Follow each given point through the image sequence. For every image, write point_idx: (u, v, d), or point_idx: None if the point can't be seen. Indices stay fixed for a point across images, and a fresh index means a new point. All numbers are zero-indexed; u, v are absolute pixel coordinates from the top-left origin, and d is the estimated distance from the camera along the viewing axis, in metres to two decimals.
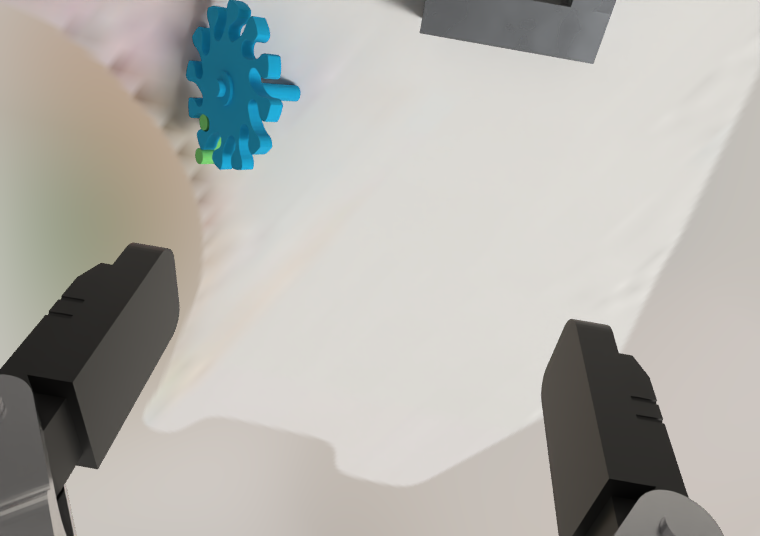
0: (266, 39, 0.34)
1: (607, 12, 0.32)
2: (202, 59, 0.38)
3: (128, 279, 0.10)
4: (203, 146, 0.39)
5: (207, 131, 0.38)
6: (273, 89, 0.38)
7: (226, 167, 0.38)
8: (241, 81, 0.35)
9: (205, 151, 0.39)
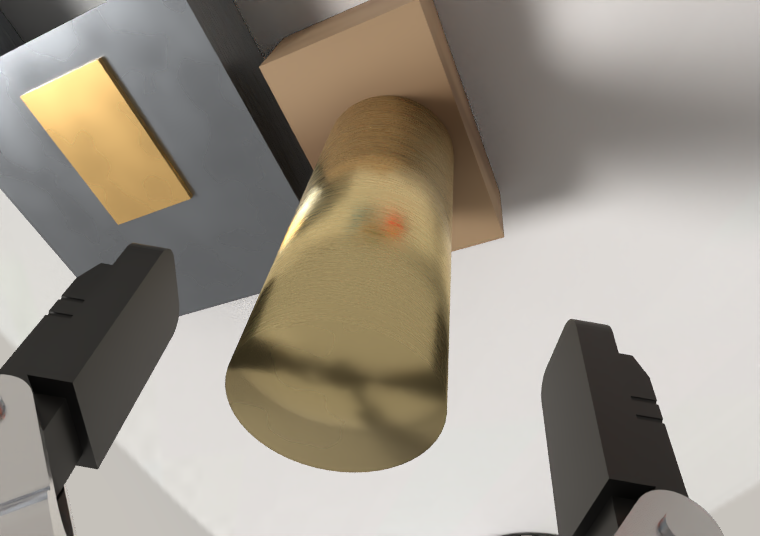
0: None
1: None
2: None
3: (128, 279, 0.10)
4: None
5: None
6: None
7: None
8: None
9: None
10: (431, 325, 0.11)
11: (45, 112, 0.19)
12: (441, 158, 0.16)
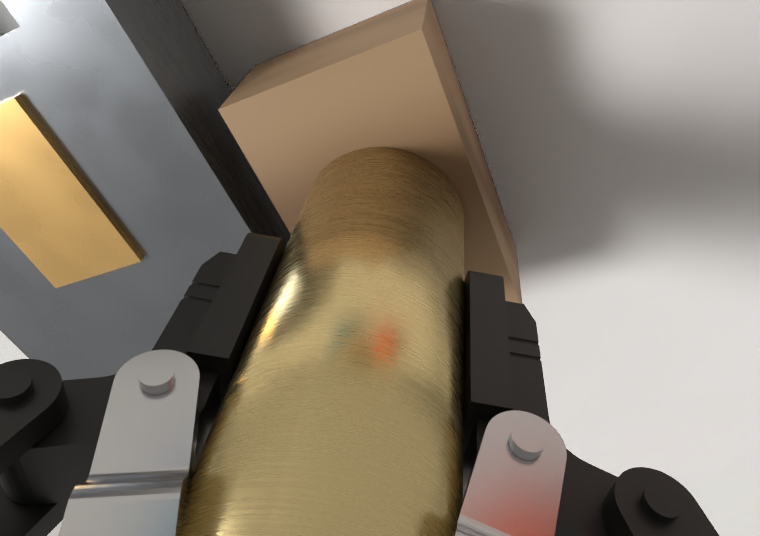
0: None
1: None
2: None
3: (255, 266, 0.11)
4: None
5: None
6: None
7: None
8: None
9: None
10: None
11: None
12: (450, 236, 0.12)
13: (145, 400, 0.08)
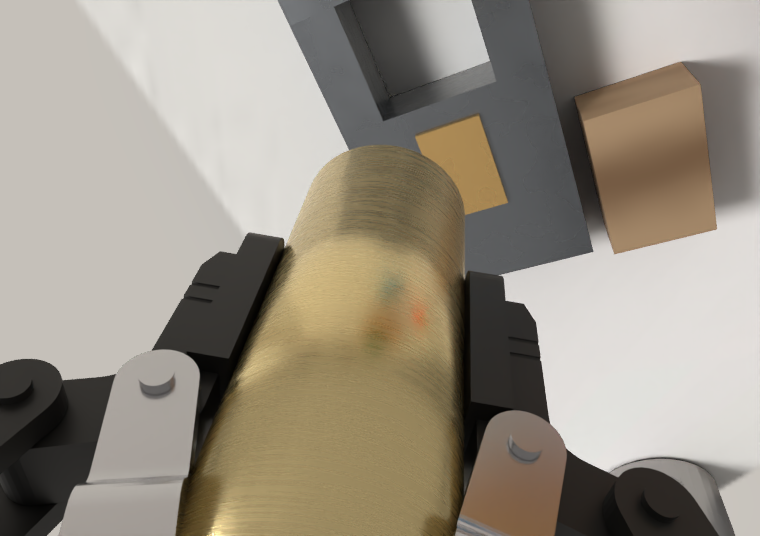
0: None
1: (294, 25, 0.27)
2: None
3: (255, 266, 0.11)
4: None
5: None
6: None
7: None
8: None
9: None
10: None
11: (428, 146, 0.29)
12: (450, 234, 0.12)
13: (145, 400, 0.08)
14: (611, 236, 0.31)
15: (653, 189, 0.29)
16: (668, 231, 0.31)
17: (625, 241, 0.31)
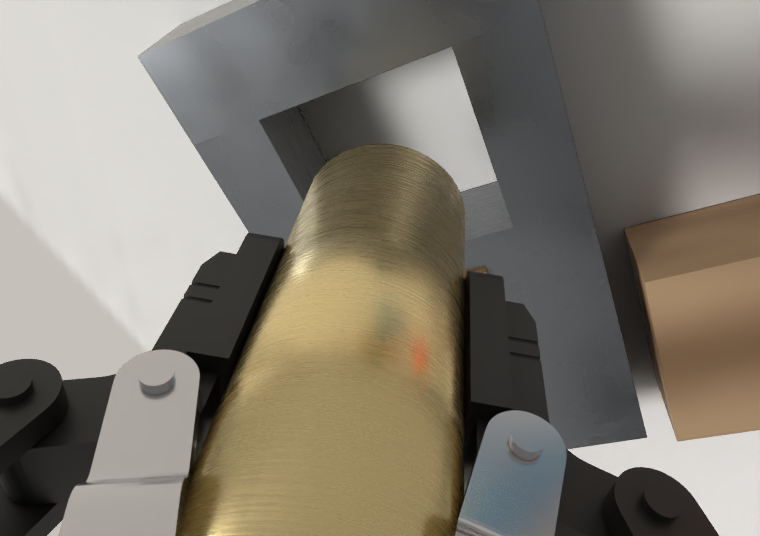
0: None
1: (201, 144, 0.17)
2: None
3: (255, 266, 0.11)
4: None
5: None
6: None
7: None
8: None
9: None
10: None
11: None
12: (451, 234, 0.12)
13: (145, 400, 0.08)
14: (674, 421, 0.22)
15: (742, 369, 0.20)
16: (759, 419, 0.21)
17: (694, 428, 0.22)
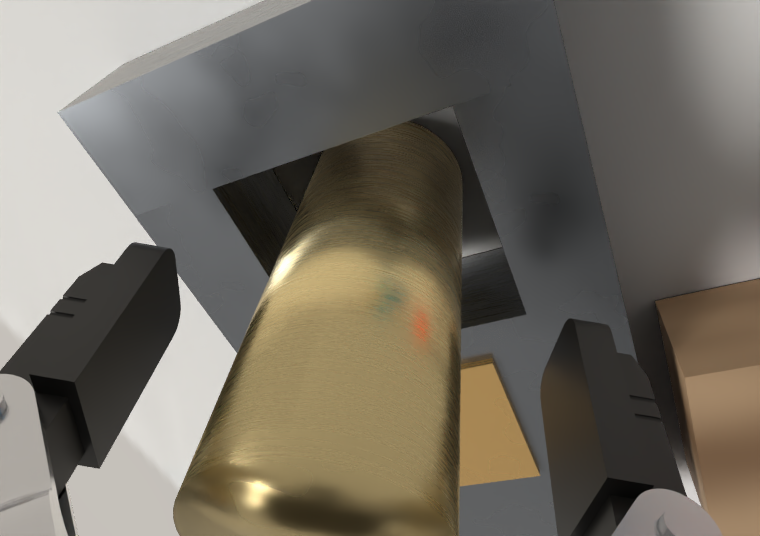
0: None
1: (143, 215, 0.14)
2: None
3: (130, 279, 0.11)
4: None
5: None
6: None
7: None
8: None
9: None
10: (439, 444, 0.08)
11: None
12: (449, 197, 0.14)
13: None
14: None
15: None
16: None
17: (734, 529, 0.19)
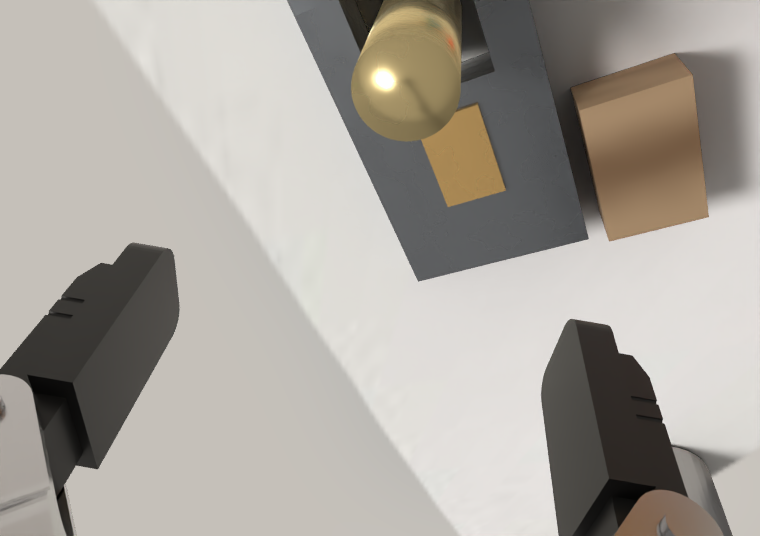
0: None
1: (299, 15, 0.27)
2: None
3: (128, 279, 0.10)
4: None
5: None
6: None
7: None
8: None
9: None
10: (453, 51, 0.22)
11: None
12: (455, 3, 0.27)
13: None
14: (606, 223, 0.32)
15: (647, 177, 0.30)
16: (662, 219, 0.32)
17: (619, 229, 0.32)
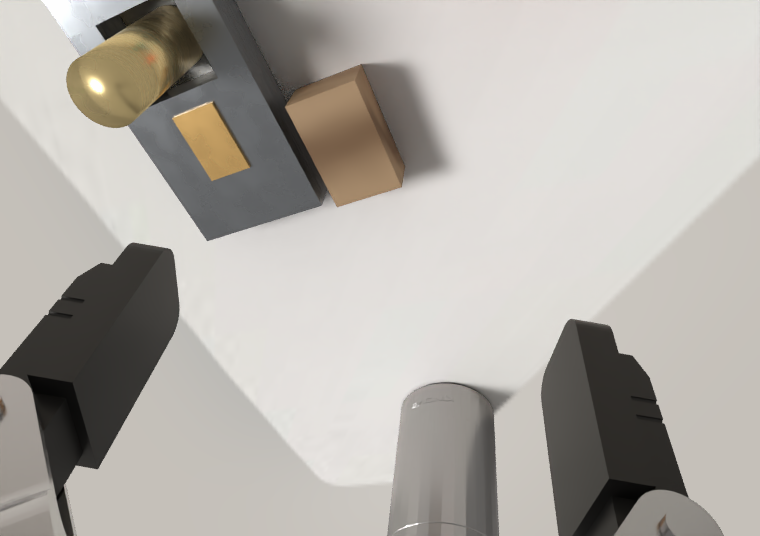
0: None
1: (71, 38, 0.37)
2: None
3: (128, 279, 0.10)
4: None
5: None
6: None
7: None
8: None
9: None
10: (136, 66, 0.32)
11: (183, 125, 0.40)
12: (182, 29, 0.37)
13: None
14: (330, 193, 0.42)
15: (348, 157, 0.40)
16: (369, 189, 0.42)
17: (341, 197, 0.42)
